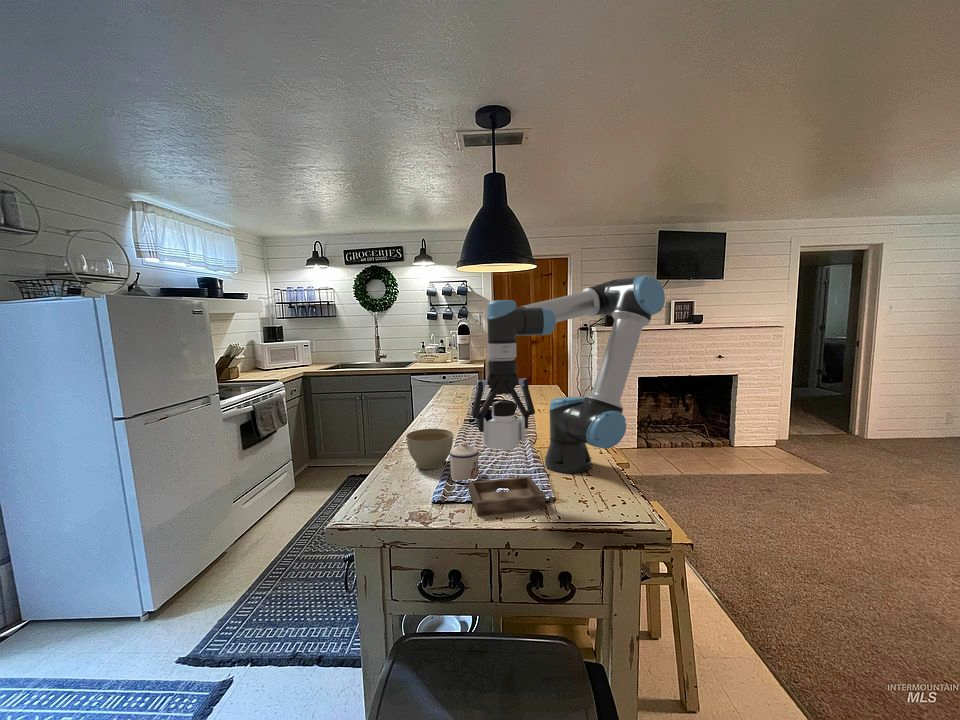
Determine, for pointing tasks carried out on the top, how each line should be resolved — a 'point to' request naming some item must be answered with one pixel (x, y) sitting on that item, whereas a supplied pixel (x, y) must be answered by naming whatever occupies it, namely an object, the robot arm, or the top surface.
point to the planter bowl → (429, 447)
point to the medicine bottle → (503, 427)
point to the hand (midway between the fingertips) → (503, 441)
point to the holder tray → (506, 496)
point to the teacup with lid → (464, 462)
